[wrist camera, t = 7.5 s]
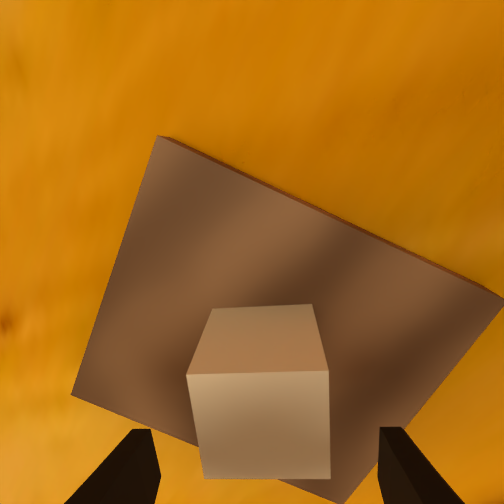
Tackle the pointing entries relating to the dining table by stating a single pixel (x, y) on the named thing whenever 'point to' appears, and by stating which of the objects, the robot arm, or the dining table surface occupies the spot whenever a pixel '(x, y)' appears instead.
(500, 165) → the dining table surface
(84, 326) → the dining table surface
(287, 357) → the cube
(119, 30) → the dining table surface
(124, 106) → the dining table surface
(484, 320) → the walnut board
